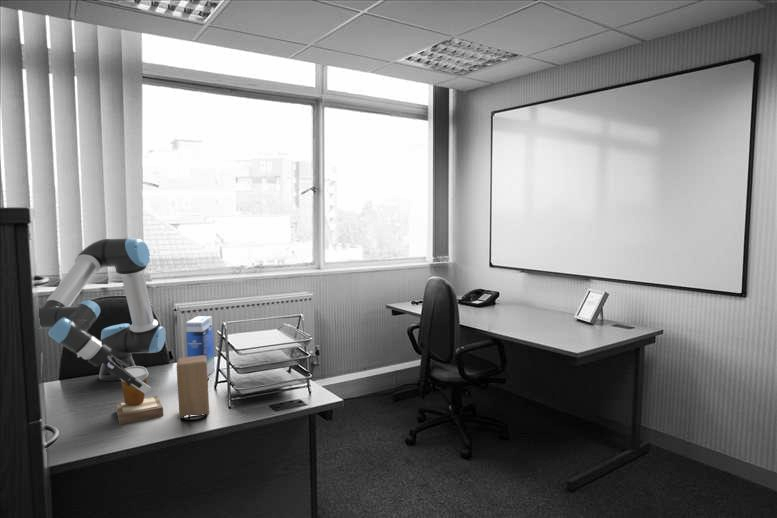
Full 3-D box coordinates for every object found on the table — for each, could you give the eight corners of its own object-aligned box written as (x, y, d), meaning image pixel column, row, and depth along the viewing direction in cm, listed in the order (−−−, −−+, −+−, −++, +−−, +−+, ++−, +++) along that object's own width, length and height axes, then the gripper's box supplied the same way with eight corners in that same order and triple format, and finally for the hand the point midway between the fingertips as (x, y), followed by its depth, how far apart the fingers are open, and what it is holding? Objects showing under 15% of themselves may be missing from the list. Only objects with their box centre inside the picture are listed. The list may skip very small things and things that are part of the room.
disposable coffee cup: (153, 396, 189) (153, 367, 186) (139, 409, 179) (139, 379, 176) (128, 392, 189) (128, 364, 186) (114, 406, 180) (113, 375, 177)
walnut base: (116, 411, 185) (115, 402, 184) (157, 403, 192) (157, 395, 192) (119, 424, 173) (118, 415, 173) (163, 415, 180) (162, 406, 180)
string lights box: (199, 370, 232) (196, 316, 230) (215, 370, 232) (213, 315, 230) (188, 379, 219) (184, 322, 217) (205, 379, 219) (202, 322, 217)
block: (180, 409, 185) (177, 357, 183) (208, 405, 189) (206, 354, 187) (179, 420, 176) (176, 364, 174) (209, 415, 179) (206, 361, 178)
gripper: (85, 352, 182) (135, 385, 192) (87, 369, 162) (142, 404, 172) (101, 336, 185) (149, 369, 194) (104, 350, 165) (158, 386, 174)
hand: (146, 386), depth 183 cm, fingers open, 11 cm apart
